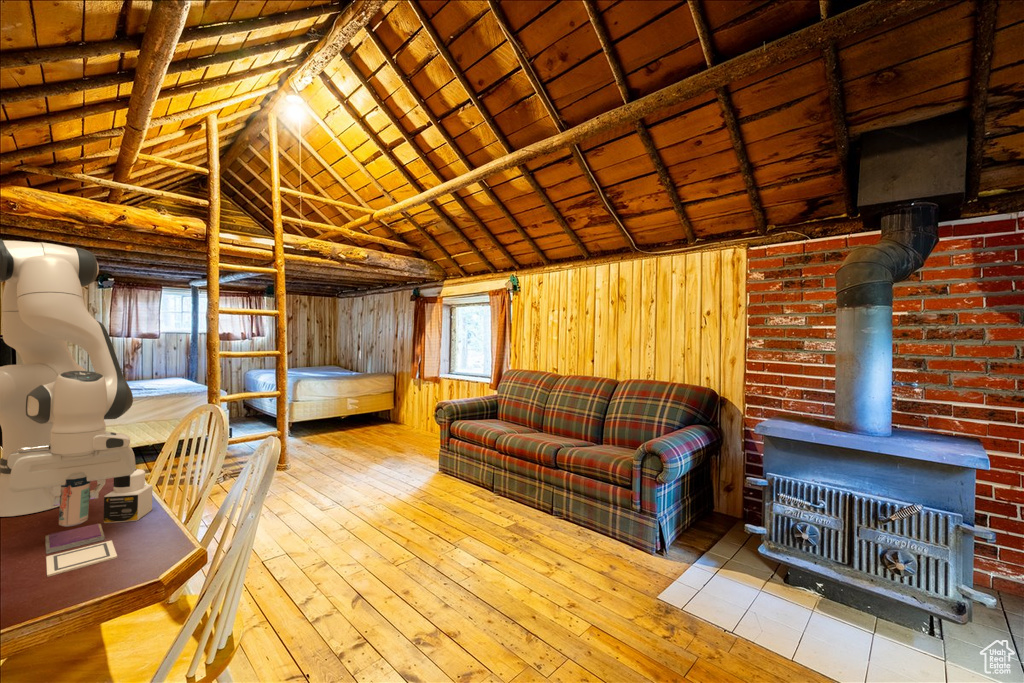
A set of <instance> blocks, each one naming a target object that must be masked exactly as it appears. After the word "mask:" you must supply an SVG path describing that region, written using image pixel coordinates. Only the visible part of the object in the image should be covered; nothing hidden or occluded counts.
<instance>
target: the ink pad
mask: <svg viewBox="0 0 1024 683" xmlns="http://www.w3.org/2000/svg"><path fill="white" fill-rule="evenodd" d="M101 541H105V533H104V531H103V526H102V524H101V523H95V524H91V525H85V526H81V527H77V528H73V529H69V530H63V531H59V532H58V531H57V532H55V533H54V532H53V533H49V534H48V535H45V555H48V554H52V553H56V552H61V551H64V550H70V549H73V548H77V547H82V546H85V545H89V544H92V543H93V544H95V543H97V542H101Z"/></svg>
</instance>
